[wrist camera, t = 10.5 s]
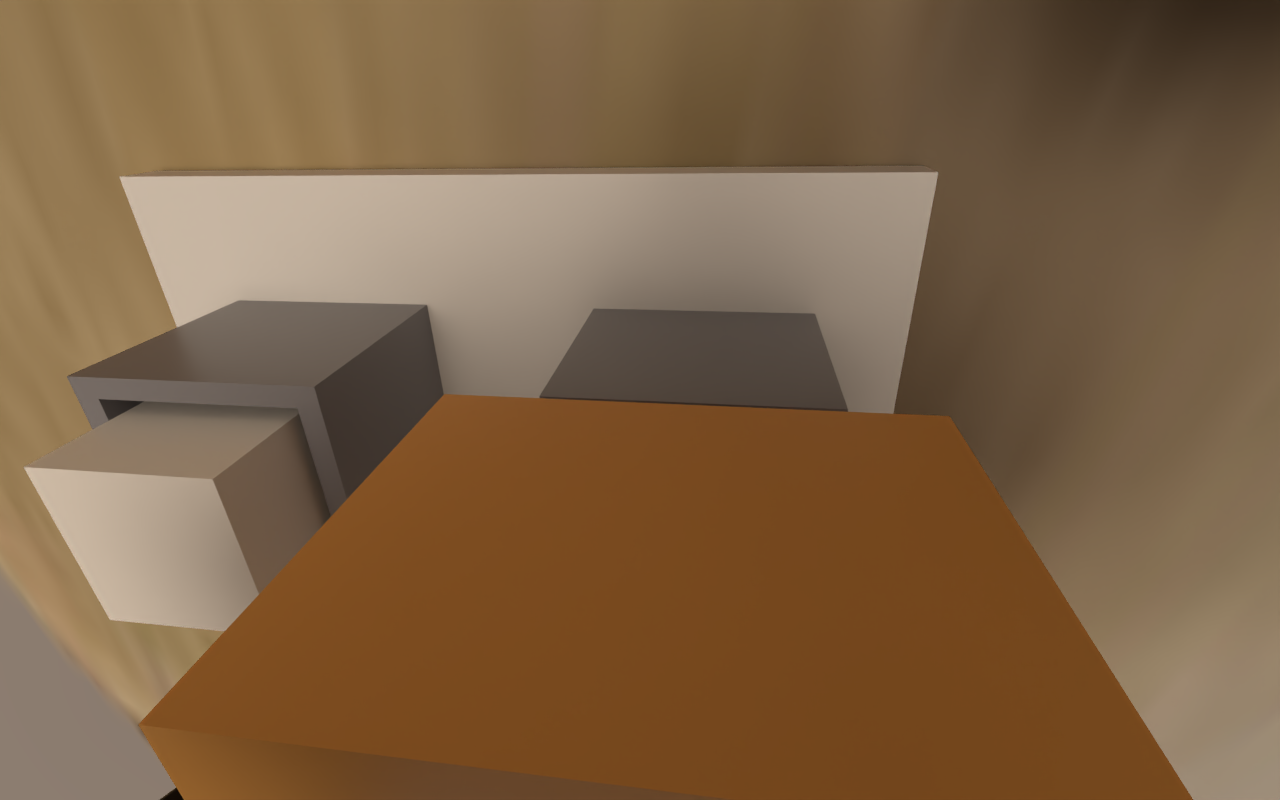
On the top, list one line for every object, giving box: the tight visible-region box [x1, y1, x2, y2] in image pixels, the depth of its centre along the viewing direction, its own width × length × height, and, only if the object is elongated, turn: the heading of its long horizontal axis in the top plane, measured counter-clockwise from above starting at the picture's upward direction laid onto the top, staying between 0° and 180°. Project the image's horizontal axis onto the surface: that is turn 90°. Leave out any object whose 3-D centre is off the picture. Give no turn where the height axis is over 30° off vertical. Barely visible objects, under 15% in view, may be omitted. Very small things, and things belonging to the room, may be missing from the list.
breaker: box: [24, 401, 331, 631], centre depth 14 cm, size 4×4×4 cm
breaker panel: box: [67, 165, 938, 516], centre depth 16 cm, size 20×12×6 cm, turn 91°
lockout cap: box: [139, 394, 1193, 800], centre depth 8 cm, size 7×7×6 cm
